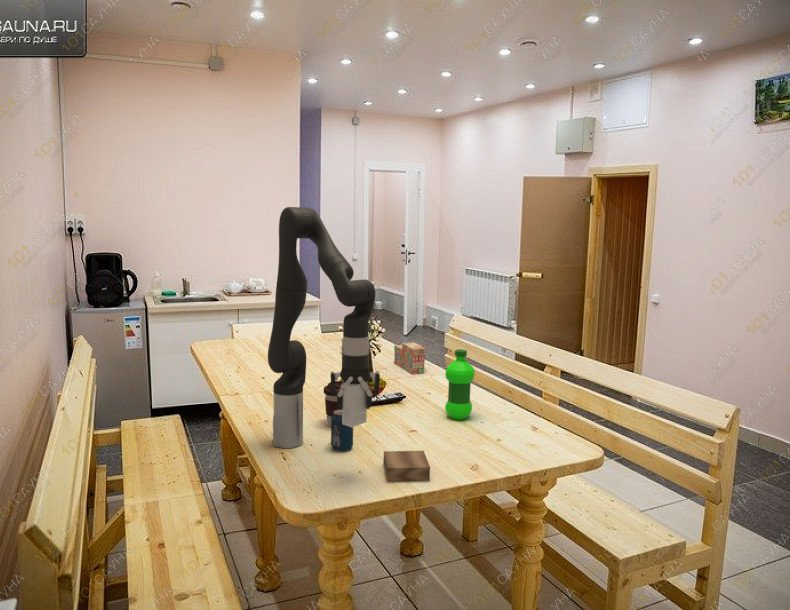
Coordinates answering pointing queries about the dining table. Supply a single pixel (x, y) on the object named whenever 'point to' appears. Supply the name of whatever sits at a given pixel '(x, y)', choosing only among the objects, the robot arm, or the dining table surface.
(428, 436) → the dining table surface
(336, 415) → the soda can
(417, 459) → the walnut base
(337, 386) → the coffee cup
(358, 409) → the skincare box
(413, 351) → the printed snack box
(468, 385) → the plastic bottle
